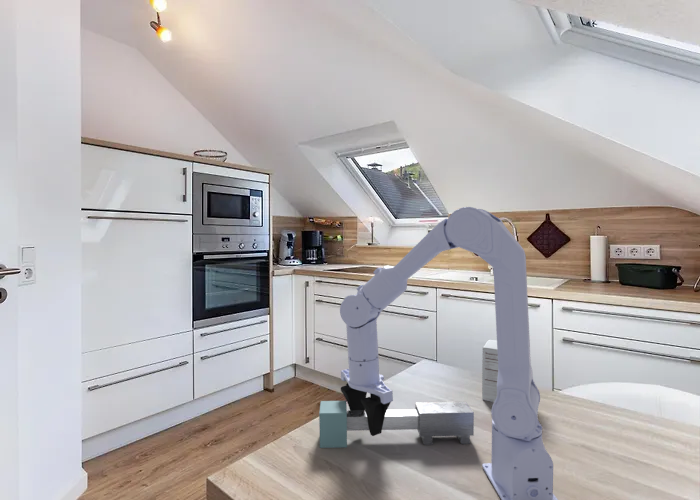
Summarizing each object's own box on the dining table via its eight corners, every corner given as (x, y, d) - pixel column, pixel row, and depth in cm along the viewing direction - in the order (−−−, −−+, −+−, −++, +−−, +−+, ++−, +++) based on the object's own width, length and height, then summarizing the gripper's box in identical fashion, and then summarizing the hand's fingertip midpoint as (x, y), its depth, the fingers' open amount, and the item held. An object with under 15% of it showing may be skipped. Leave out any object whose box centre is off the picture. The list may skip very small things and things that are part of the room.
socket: (347, 447, 71) (346, 412, 71) (319, 447, 71) (319, 413, 71) (346, 432, 76) (346, 400, 76) (321, 433, 76) (320, 401, 76)
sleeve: (473, 443, 72) (473, 412, 71) (419, 444, 72) (419, 413, 71) (465, 431, 76) (466, 401, 76) (415, 432, 76) (415, 402, 76)
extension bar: (430, 429, 72) (430, 415, 72) (339, 431, 72) (339, 417, 72) (427, 422, 75) (427, 408, 75) (339, 423, 75) (339, 410, 75)
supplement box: (487, 388, 96) (488, 338, 95) (519, 394, 92) (520, 342, 92) (481, 400, 90) (481, 346, 89) (515, 407, 86) (516, 351, 85)
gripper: (404, 361, 69) (408, 436, 69) (359, 344, 81) (363, 408, 82) (372, 370, 65) (376, 449, 66) (330, 351, 77) (334, 417, 78)
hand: (367, 427), depth 73 cm, fingers open, 5 cm apart
